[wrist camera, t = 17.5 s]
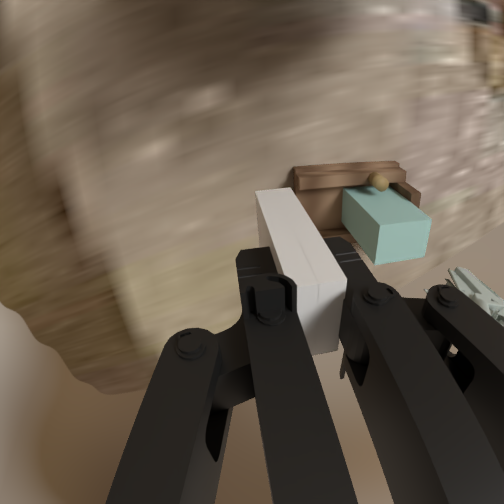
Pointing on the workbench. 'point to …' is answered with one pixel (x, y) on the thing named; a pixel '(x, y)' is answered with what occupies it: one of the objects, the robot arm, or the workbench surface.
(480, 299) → the bracket
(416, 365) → the robot arm
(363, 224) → the mint green box
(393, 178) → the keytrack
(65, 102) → the workbench surface
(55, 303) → the workbench surface
